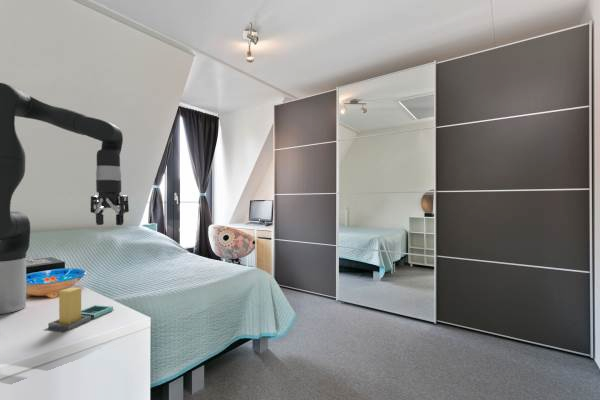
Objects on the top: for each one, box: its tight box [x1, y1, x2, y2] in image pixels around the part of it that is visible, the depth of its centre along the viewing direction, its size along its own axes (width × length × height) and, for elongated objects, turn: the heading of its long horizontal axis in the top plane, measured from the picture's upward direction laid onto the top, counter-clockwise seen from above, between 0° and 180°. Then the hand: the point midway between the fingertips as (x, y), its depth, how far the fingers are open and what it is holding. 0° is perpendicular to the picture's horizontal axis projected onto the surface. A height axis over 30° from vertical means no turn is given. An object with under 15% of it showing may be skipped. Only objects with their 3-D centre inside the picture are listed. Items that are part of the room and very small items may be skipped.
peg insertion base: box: [43, 304, 114, 334], centre depth 90 cm, size 7×17×2 cm, turn 168°
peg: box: [58, 286, 82, 324], centre depth 87 cm, size 4×4×10 cm
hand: (109, 224), depth 106 cm, fingers open, 8 cm apart
